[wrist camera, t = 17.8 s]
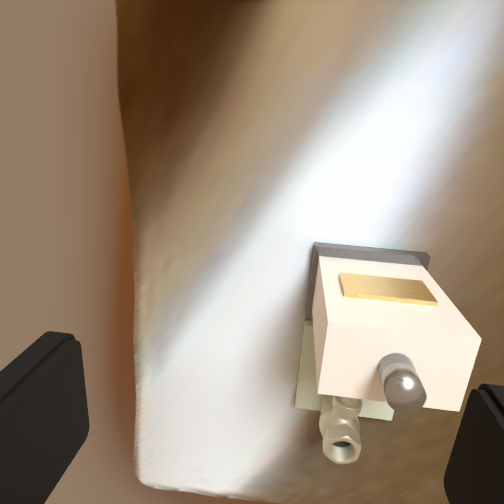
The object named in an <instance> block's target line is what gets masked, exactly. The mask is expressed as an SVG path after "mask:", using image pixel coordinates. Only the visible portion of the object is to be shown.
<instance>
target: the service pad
mask: <svg viewBox="0 0 504 504" xmlns="http://www.w3.org/2000/svg"><path fill="white" fill-rule="evenodd" d="M324 395H325V394H318V391H317V376H316V361H315V346H314V331H313V321H310V320H305V324H304V332H303V340H302V349H301V357H300V365H299V373H298V381H297V389H296V397H295V408H299V409H307V410H314V411H320V407H321V403H322V400H323V397H324ZM361 400H362V402H363V405H362V408H361V411H360V413H359V415H357V416H360V417H368V418H375V419H383V420H391V421H392V417H393V413H394V410H393V409H392V408H391V407H390V406H389V405H388V403H387V402H380V401H372V400H364V399H361Z"/></svg>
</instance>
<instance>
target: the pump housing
mask: <svg viewBox="0 0 504 504" xmlns="http://www.w3.org/2000/svg"><path fill="white" fill-rule="evenodd" d="M429 260H430V256H429V255H428V254H427V253H424V252H414V251H403V250H393V249H382V248H371V247H361V246H350V245H339V244H329V243H318V242H315V244H314V252H313V260H312V268H311V276H310V284H309V292H308V300H307V308H306V317H308V318H313V331H314V346H315V361H316V376H317V391H318V394H325V395H333V396H340V397H348V398H356V399H364V400H372V401H380V402H387V403H388V405H389V406H390V407H391V408H392V409H393V410H395V411H398V412H401V413H411V412H414V411H417V410H418V409H420V408H421V407H427V408H435V409H443V410H451V411H460V407H461V404H462V401H463V398H464V394H465V391H466V388H467V385H468V381H469V378H470V375H471V372H472V368H473V365H474V362H475V359H476V355H477V352H478V349H479V346H480V342H481V338H480V336H479V335H478V334H477V333H476V332H475V330H474V329H473V328H472V327H471V325H470V324H469V323H468V322H467V320H466V319H465V318H464V317H463V315H462V314H461V313H460V312H459V310H458V309H457V308H456V307H455V306H454V304H453V303H452V302H451V301H450V299H449V298H448V297H447V296H446V294H445V293H444V292H443V291H442V289H441V288H440V287H439V286H438V284H437V283H436V282H435V281H434V279H433V278H432V277H431V276H430V275H429V273H428V272H427V268H428V264H429Z"/></svg>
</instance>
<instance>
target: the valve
mask: <svg viewBox="0 0 504 504" xmlns="http://www.w3.org/2000/svg"><path fill="white" fill-rule="evenodd" d="M362 405H363V402H362V400H361V399H356V398H348V397H340V396H333V395H324V397H323V400H322V403H321V407H320V411H321V416H320V420H319V428H320V432H321V435H322V437H323V453H324V454H325V455H326V456H327V457H328V458H329V459H330V460H332V461H333V462H335V463H337V464H347V463H351V462H354V461H356V460H357V459H358V456H359V454H360V451H361V447H362V446H361V440H360V435H359V432H360V425H359V420H358V418H357V415H359V413H360V411H361V408H362Z"/></svg>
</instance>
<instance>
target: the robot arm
mask: <svg viewBox="0 0 504 504" xmlns="http://www.w3.org/2000/svg"><path fill="white" fill-rule="evenodd" d="M88 431H89V417H88V408H87V398H86V388H85V380H84V370H83V360H82V351H81V344H80V342H79V341H77V340H75V337H74V336H73V335H72V334H69V333H61V332H52V331H49V332H46V333H44V334H43V335H42V336H41V337H40V338H38V339H37V340H36V341H35V342H34V343H33V344H32V345H31V346H29V347H28V348H27V349H26V350H25V351H24V352H22V353H21V354H20V355H19V356H18V357H17V358H15V359H14V360H13V361H12V362H11V363H10V364H8V365H7V366H6V367H5V368H4V369H3V370H2V371H0V504H44V503H45V501H46V500H47V498H48V497H49V495H50V493H51V492H52V491H53V489H54V488H55V486H56V484H57V483H58V482H59V480H60V478H61V477H62V475H63V474H64V472H65V471H66V469H67V468H68V466H69V465H70V463H71V461H72V460H73V459H74V457H75V455H76V454H77V452H78V450H79V449H80V447H81V446H82V444H83V443H84V442H85V440H86V438H87V435H88ZM444 488H445V492H446V495H447V498H448V501H449V503H450V504H504V386H501V385H492V384H481V385H480V386H479V388H478V389H473V390H472V391H471V393H470V395H469V398H468V401H467V405H466V408H465V411H464V414H463V417H462V420H461V424H460V427H459V430H458V433H457V436H456V440H455V443H454V446H453V449H452V452H451V455H450V459H449V462H448V465H447V468H446V471H445V475H444Z"/></svg>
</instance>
